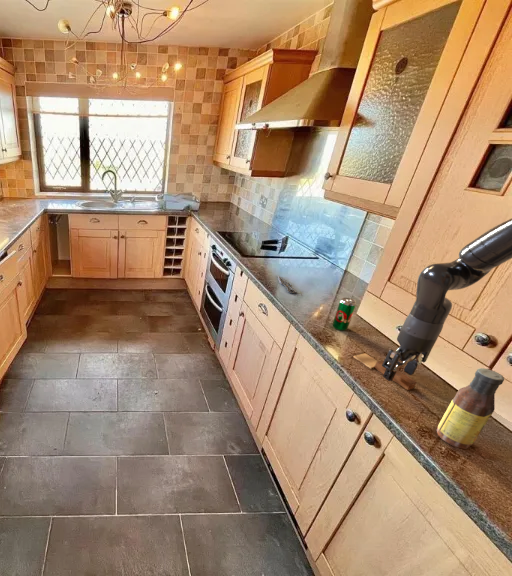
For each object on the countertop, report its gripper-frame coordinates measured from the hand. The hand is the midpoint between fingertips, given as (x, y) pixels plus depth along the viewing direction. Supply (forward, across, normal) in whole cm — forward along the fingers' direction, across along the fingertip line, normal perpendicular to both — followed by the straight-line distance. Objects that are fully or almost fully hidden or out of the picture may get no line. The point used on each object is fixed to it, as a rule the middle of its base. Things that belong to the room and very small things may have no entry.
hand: (397, 375), depth 92 cm
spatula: (+2, 0, +4) cm, 4 cm away
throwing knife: (+2, +16, +65) cm, 67 cm away
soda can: (+2, +9, +27) cm, 28 cm away
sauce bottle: (+2, -8, -18) cm, 20 cm away
